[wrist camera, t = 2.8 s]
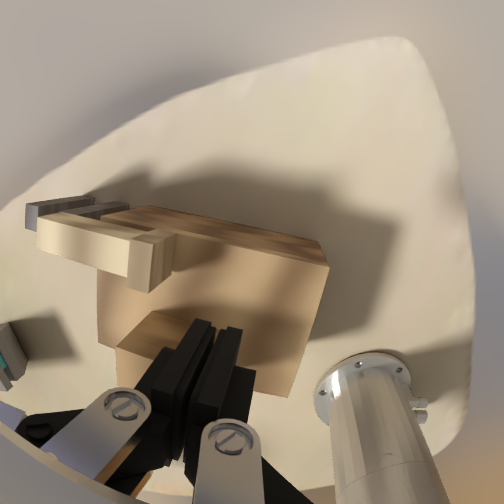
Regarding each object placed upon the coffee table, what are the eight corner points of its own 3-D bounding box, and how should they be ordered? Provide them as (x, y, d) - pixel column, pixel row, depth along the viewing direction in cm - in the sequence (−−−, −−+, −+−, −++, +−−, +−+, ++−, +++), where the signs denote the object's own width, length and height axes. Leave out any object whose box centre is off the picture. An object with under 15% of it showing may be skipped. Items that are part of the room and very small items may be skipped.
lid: (326, 259, 23) (344, 299, 15) (288, 382, 26) (285, 448, 18) (114, 213, 24) (51, 228, 16) (109, 332, 27) (62, 375, 19)
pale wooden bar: (176, 233, 21) (152, 244, 17) (171, 275, 22) (148, 293, 18) (63, 207, 22) (31, 213, 18) (61, 243, 23) (31, 254, 19)
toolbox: (317, 241, 30) (330, 268, 20) (289, 345, 32) (287, 400, 23) (82, 193, 31) (26, 200, 22) (78, 285, 34) (29, 313, 25)
